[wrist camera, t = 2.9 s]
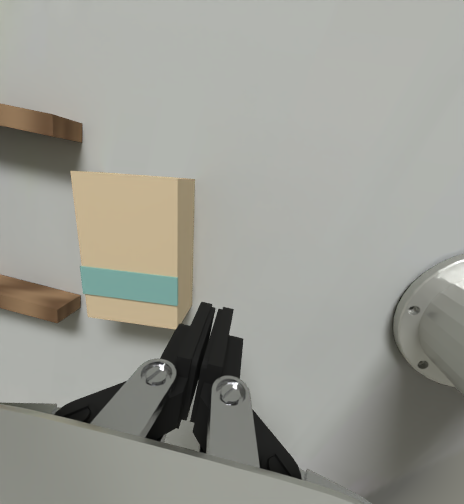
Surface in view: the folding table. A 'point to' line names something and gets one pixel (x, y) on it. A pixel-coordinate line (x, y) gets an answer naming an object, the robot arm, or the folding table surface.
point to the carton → (135, 246)
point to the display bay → (22, 292)
